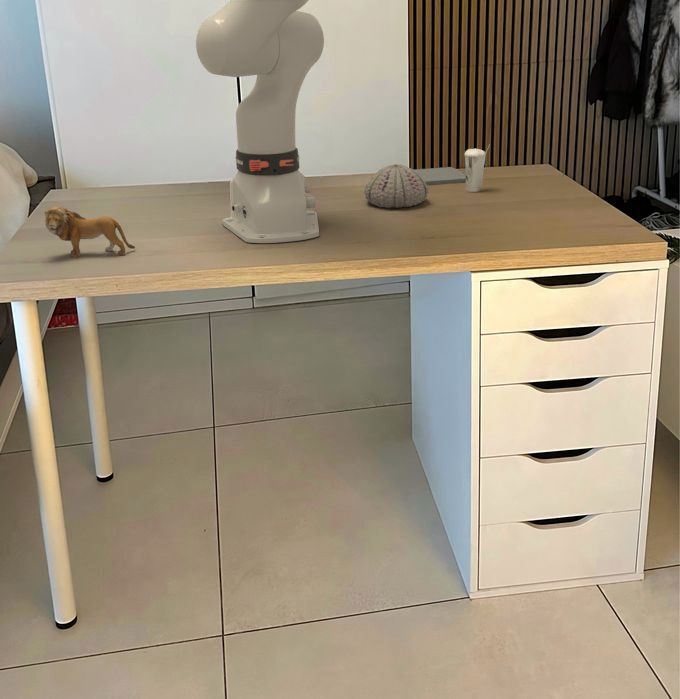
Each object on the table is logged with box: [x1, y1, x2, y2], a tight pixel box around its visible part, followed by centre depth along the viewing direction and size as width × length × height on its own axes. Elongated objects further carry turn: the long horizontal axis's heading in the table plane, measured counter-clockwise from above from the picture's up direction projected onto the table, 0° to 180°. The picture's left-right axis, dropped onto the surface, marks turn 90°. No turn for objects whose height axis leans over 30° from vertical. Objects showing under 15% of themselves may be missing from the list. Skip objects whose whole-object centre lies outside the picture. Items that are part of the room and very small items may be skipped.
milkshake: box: [464, 144, 490, 193], centre depth 199 cm, size 4×5×10 cm
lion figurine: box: [44, 206, 136, 259], centre depth 160 cm, size 15×5×9 cm, turn 104°
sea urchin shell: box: [364, 163, 429, 209], centre depth 191 cm, size 13×14×8 cm
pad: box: [413, 166, 466, 186], centre depth 213 cm, size 13×13×1 cm
